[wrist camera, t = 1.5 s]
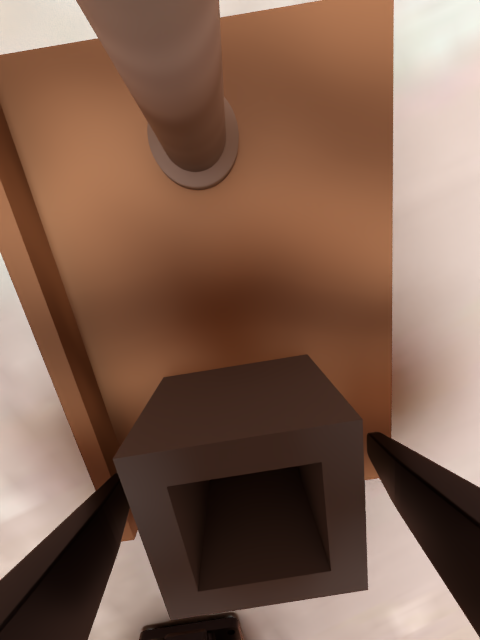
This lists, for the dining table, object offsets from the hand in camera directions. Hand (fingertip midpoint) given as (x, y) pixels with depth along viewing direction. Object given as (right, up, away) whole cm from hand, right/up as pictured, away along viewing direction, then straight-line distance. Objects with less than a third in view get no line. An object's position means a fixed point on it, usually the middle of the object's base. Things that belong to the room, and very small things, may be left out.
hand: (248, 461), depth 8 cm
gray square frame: (0, 0, +2) cm, 2 cm away
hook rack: (-1, +6, +2) cm, 6 cm away
